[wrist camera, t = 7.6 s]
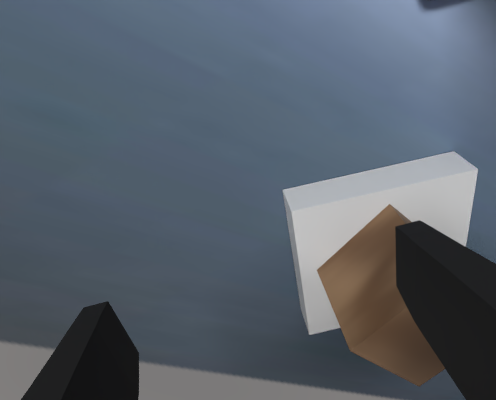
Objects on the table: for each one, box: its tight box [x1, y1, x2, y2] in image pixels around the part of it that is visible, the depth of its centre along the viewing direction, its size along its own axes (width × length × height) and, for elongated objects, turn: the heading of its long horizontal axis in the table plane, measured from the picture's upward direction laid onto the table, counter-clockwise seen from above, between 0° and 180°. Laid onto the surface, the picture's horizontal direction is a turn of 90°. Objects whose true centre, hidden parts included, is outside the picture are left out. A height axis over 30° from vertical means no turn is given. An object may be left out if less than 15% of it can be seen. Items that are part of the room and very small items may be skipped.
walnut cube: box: [317, 204, 445, 386], centre depth 19 cm, size 5×5×5 cm
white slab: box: [283, 151, 478, 335], centre depth 22 cm, size 9×9×2 cm
